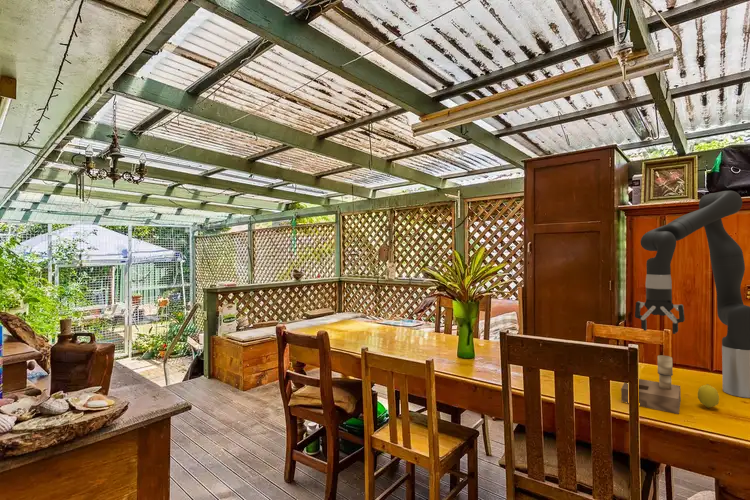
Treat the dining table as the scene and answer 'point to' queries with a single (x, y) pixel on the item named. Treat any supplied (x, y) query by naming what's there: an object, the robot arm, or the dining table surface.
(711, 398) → the lemon
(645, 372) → the dining table surface
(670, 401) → the board
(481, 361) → the dining table surface
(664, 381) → the peg
